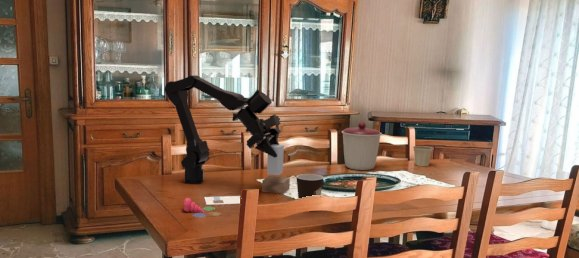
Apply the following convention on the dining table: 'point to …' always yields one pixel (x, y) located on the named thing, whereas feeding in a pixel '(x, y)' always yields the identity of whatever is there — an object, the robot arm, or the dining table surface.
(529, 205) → the dining table surface
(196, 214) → the toy pieces
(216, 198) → the page
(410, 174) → the dining table surface
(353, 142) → the canister
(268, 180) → the base block
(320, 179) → the coffee mug
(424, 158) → the flower pot
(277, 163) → the tall brick
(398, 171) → the dining table surface
